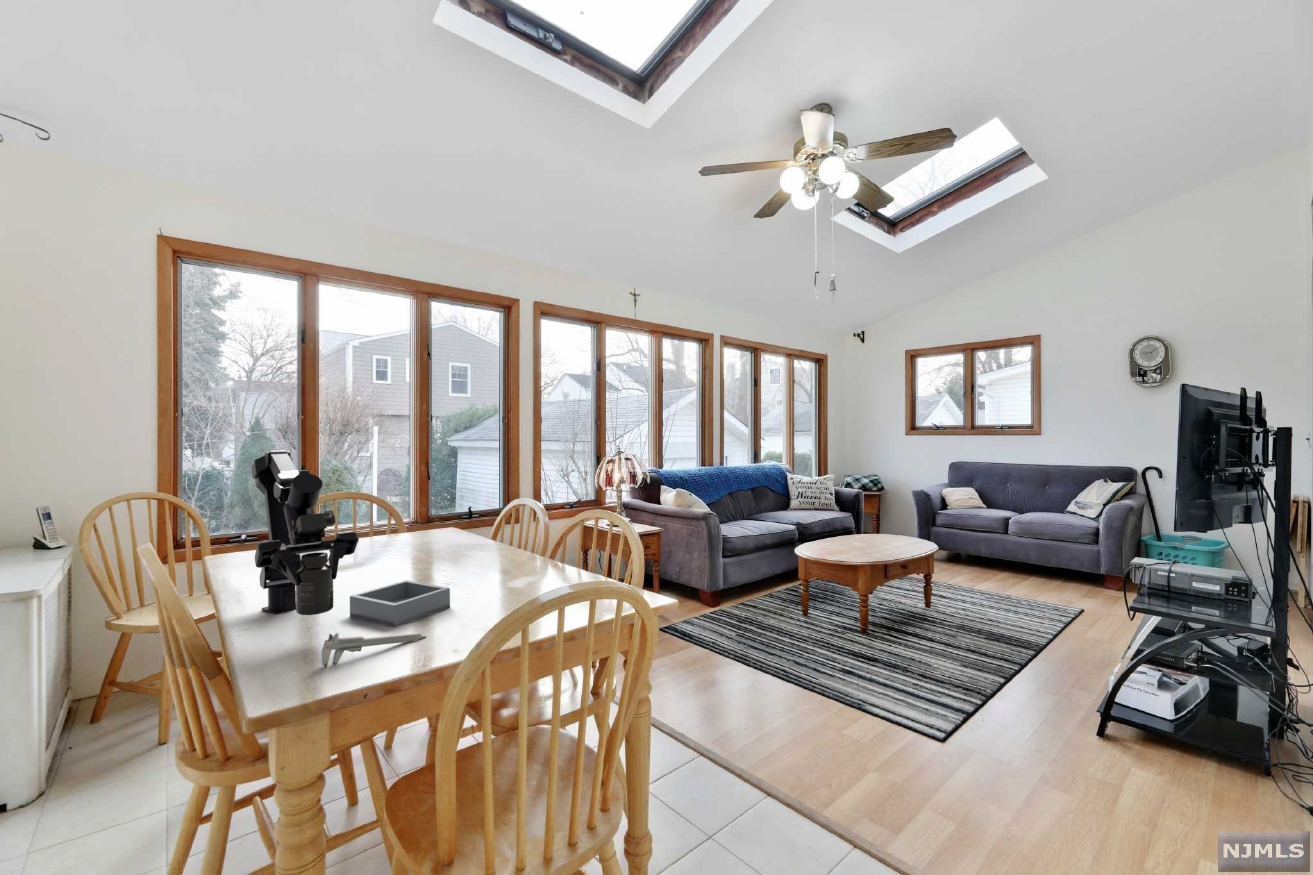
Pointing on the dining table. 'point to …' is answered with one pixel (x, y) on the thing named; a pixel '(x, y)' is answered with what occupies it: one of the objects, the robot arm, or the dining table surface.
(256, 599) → the dining table surface
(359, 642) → the caliper
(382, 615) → the bin
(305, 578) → the supplement bottle
